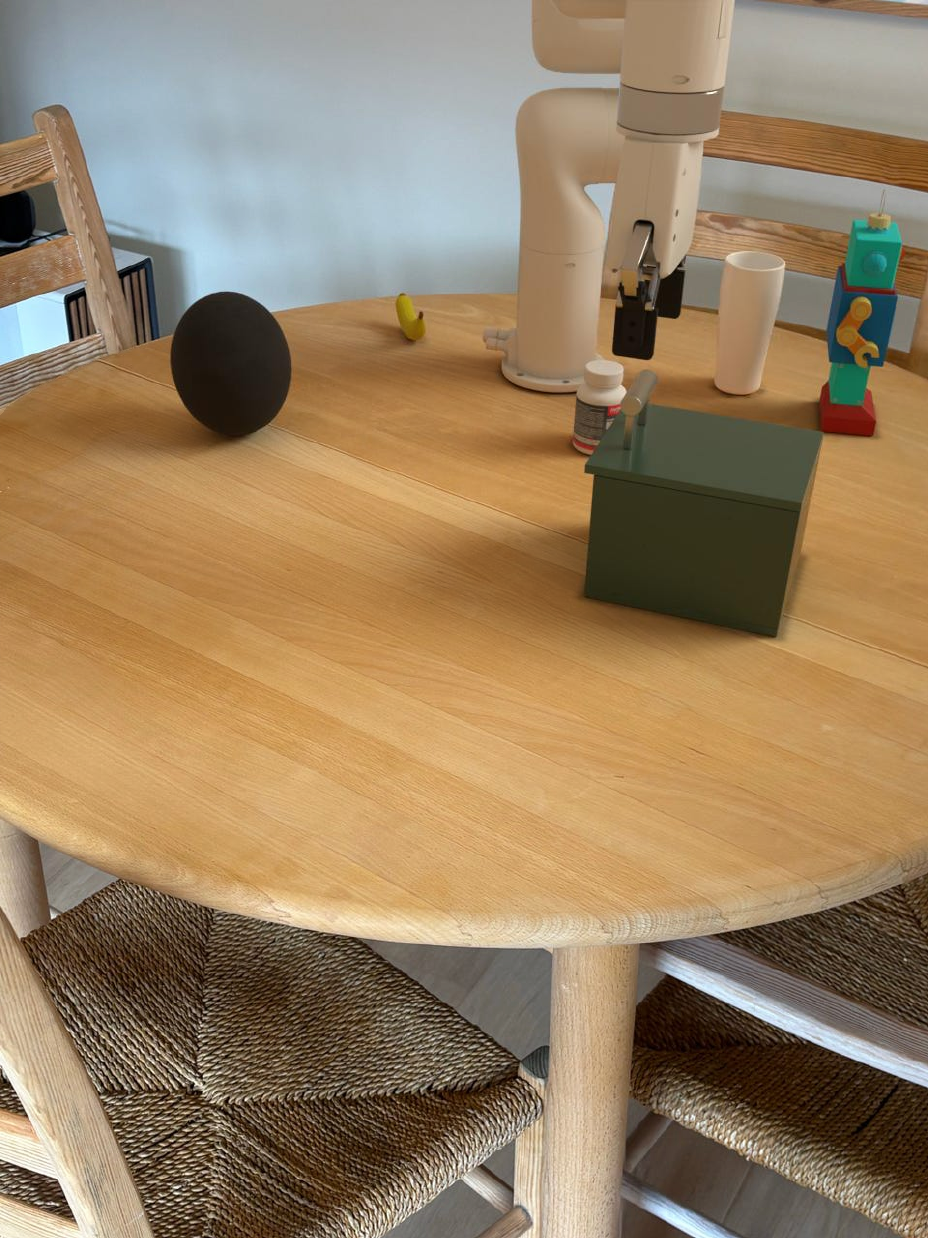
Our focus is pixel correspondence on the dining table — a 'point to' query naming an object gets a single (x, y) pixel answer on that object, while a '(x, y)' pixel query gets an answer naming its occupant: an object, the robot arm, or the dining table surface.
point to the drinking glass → (746, 318)
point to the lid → (705, 452)
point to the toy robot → (860, 323)
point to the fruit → (410, 318)
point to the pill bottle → (597, 403)
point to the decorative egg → (230, 363)
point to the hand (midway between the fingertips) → (647, 335)
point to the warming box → (693, 553)
